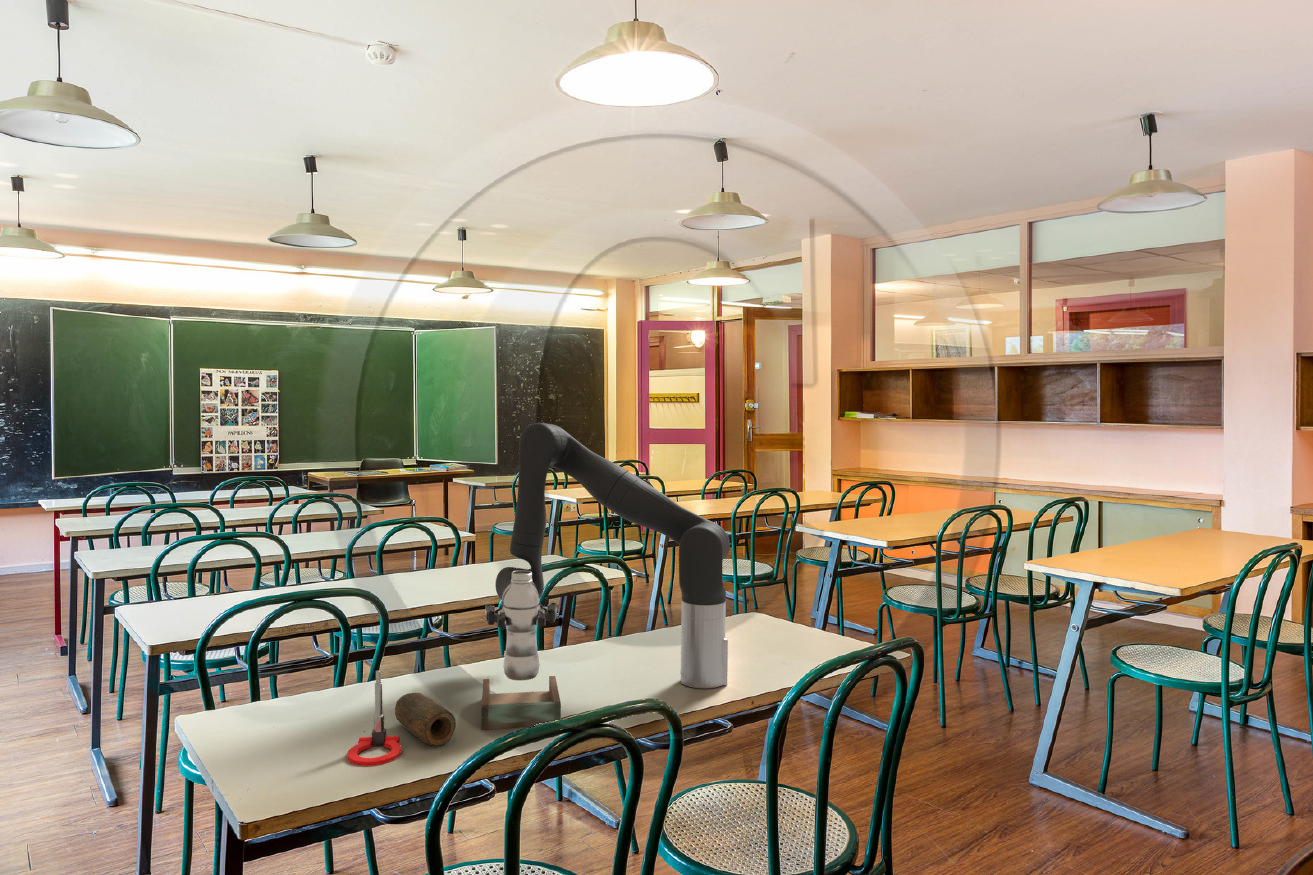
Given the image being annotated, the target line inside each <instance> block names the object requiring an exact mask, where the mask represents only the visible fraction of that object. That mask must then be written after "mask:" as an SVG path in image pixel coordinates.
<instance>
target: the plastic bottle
mask: <svg viewBox="0 0 1313 875" xmlns="http://www.w3.org/2000/svg"><path fill="white" fill-rule="evenodd" d="M511 583H513V584H512V587H511V588H510V589H509V590H508V592H507V593H506V595H505V598H504V601H503V602H504V610H505V617H506V624H505V630H506V643H505V654H504V659H503V665H502V666H503V667H502V668H503V672H504V674H505V676H506V677H507V679H509V680H512V681H529V680H533V679H535V678H536V677H537V676H538V674H539V670H540V666H541V665H540V663H541V662H540V656H539V653H538V645H537V642H538V641H537V626H538V623H537V614H538V606H539V600H540V599H539V598H538V595H537V593H536V592H535V590H534V589H533V587H532V586H531V583H532V572H531V571H514V572H512V579H511Z"/></svg>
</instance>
